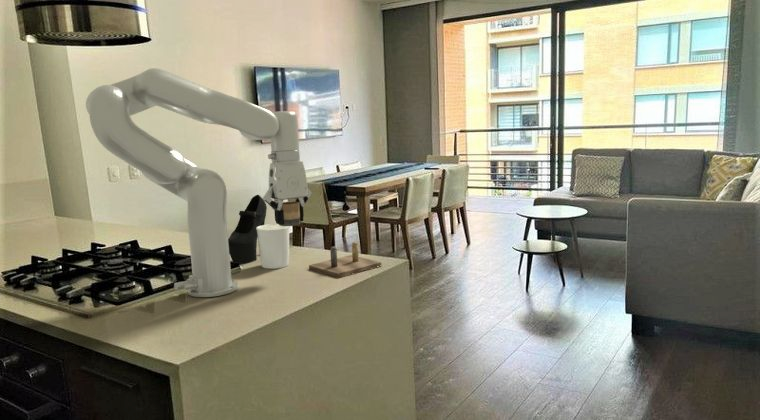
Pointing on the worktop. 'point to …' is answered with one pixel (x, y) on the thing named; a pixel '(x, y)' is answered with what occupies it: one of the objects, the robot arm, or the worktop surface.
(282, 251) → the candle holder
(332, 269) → the pin board
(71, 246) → the worktop surface
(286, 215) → the sleeve
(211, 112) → the robot arm
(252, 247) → the high-heeled shoe
